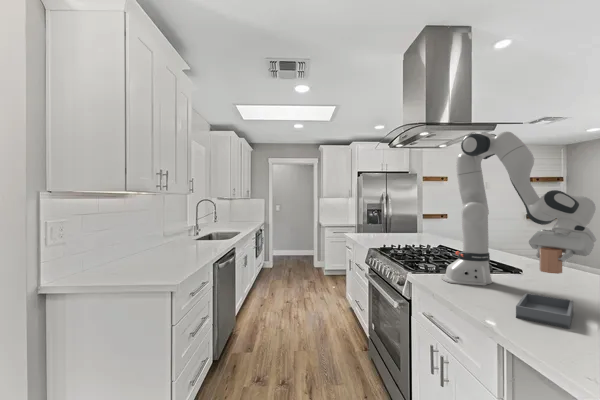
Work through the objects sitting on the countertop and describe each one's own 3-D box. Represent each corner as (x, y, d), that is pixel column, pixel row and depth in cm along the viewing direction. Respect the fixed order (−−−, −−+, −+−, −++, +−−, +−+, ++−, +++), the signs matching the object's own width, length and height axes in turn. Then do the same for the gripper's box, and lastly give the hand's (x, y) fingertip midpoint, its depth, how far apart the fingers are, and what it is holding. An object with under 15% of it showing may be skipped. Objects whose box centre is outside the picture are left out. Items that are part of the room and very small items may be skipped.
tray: (569, 328, 100) (569, 316, 100) (516, 317, 109) (516, 305, 109) (573, 311, 114) (573, 300, 114) (525, 303, 124) (525, 292, 124)
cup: (553, 274, 118) (553, 250, 118) (536, 270, 124) (536, 248, 124) (565, 272, 120) (565, 249, 120) (547, 269, 126) (547, 247, 126)
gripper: (535, 224, 134) (518, 249, 131) (593, 228, 115) (575, 257, 112) (542, 234, 136) (526, 259, 132) (601, 240, 116) (584, 269, 113)
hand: (549, 258), depth 122 cm, fingers closed on cup, 6 cm apart
